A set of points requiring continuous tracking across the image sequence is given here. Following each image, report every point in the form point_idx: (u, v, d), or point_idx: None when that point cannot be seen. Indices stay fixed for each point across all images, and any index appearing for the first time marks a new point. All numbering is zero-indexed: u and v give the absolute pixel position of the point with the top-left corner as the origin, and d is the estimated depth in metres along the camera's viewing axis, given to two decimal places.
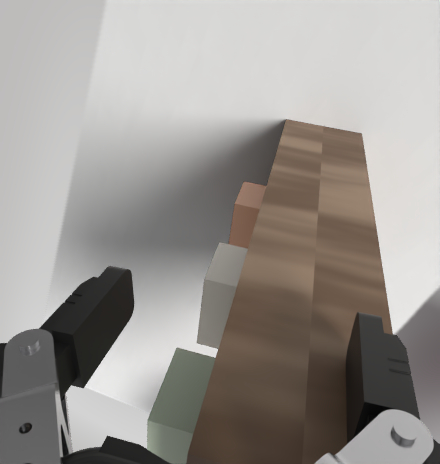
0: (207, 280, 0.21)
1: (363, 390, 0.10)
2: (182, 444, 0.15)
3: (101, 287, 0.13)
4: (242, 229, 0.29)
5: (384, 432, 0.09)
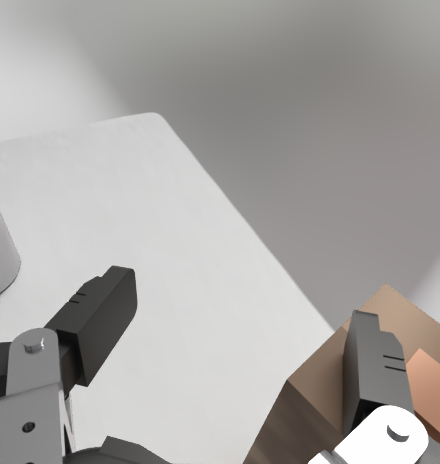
0: None
1: (359, 387, 0.10)
2: None
3: (105, 286, 0.13)
4: None
5: (379, 428, 0.09)
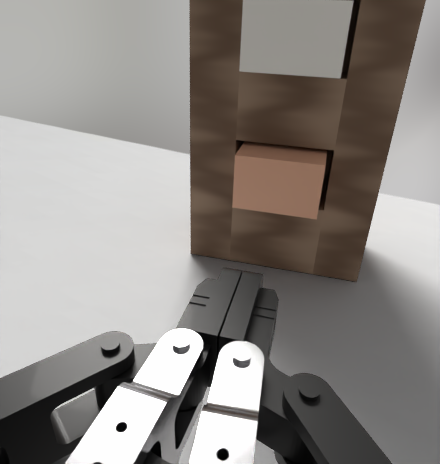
0: None
1: (222, 328, 0.12)
2: None
3: (225, 288, 0.13)
4: (270, 154, 0.24)
5: (225, 356, 0.11)
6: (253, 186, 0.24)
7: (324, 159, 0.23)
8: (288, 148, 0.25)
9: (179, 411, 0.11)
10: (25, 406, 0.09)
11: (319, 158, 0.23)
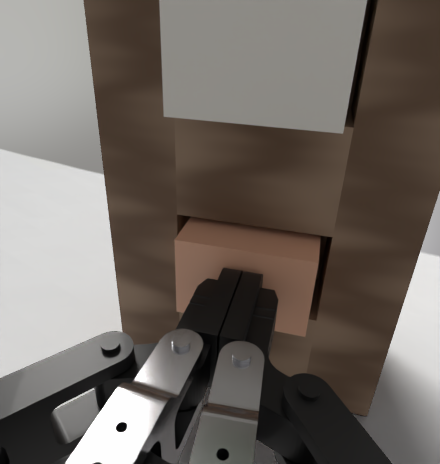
0: None
1: (223, 328, 0.12)
2: None
3: (225, 288, 0.13)
4: (232, 236, 0.15)
5: (225, 356, 0.11)
6: None
7: (317, 247, 0.15)
8: None
9: (179, 411, 0.11)
10: (25, 406, 0.09)
11: (309, 246, 0.15)
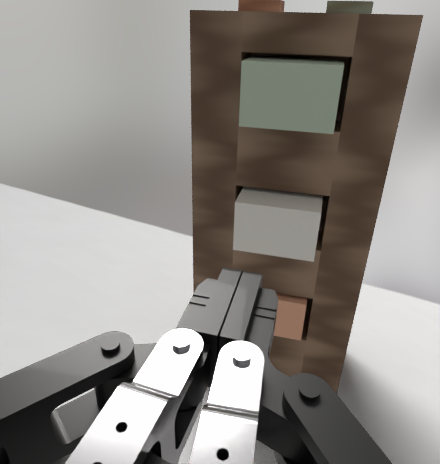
0: (236, 201, 0.25)
1: (223, 328, 0.12)
2: (263, 59, 0.22)
3: (225, 288, 0.13)
4: None
5: (225, 356, 0.11)
6: None
7: None
8: None
9: (179, 411, 0.11)
10: (25, 406, 0.09)
11: None
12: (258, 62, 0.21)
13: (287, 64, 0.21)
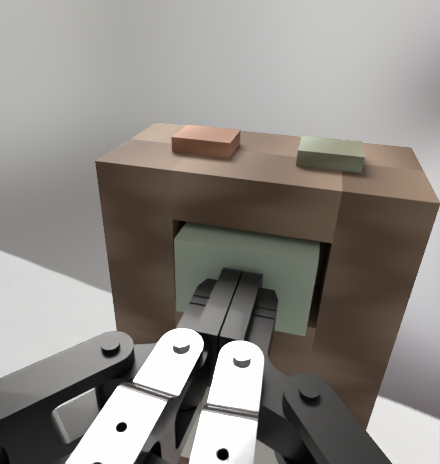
0: None
1: (223, 328, 0.12)
2: (209, 225, 0.16)
3: (225, 288, 0.13)
4: None
5: (225, 356, 0.11)
6: None
7: None
8: None
9: (179, 411, 0.11)
10: (25, 406, 0.09)
11: None
12: (198, 242, 0.15)
13: (238, 250, 0.14)
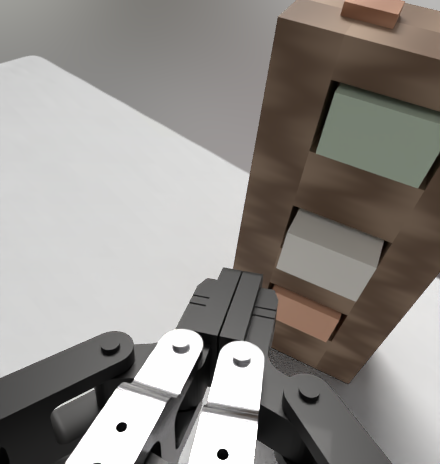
0: (288, 230, 0.23)
1: (223, 328, 0.12)
2: None
3: (225, 288, 0.13)
4: None
5: (225, 356, 0.11)
6: (282, 310, 0.31)
7: None
8: None
9: (179, 411, 0.11)
10: (25, 406, 0.09)
11: None
12: (354, 97, 0.18)
13: (387, 109, 0.18)
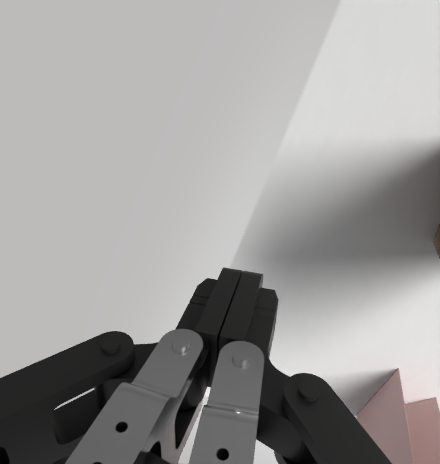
0: None
1: (222, 328, 0.12)
2: None
3: (225, 288, 0.13)
4: None
5: (225, 356, 0.11)
6: None
7: None
8: None
9: (179, 411, 0.11)
10: (25, 406, 0.09)
11: None
12: None
13: None
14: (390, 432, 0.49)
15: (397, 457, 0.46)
